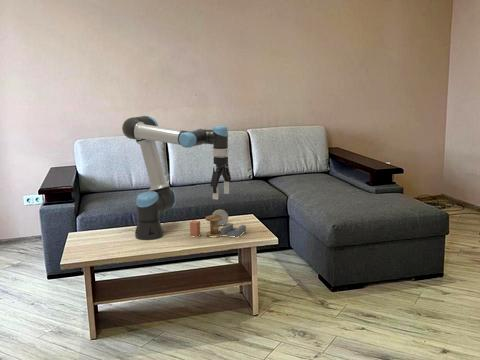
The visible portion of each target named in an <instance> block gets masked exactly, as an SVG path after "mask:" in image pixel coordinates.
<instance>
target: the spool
mask: <svg viewBox="0 0 480 360" xmlns="http://www.w3.org/2000/svg"><path fill="white" fill-rule="evenodd" d="M220 220H222V216H220V215H212V214H211V215H207V216H205V221H208V222H209V225H210V228H209V229H210V230H209V231H207V232H206V233H205V235H207V236H220V235H222V234H221V230H219V226H218V221H220ZM207 236H206V237H207Z"/></svg>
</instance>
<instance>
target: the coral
mask: <svg viewBox="0 0 480 360" xmlns="http://www.w3.org/2000/svg"><path fill="white" fill-rule="evenodd" d="M211 215H220V216H222V220H220V221H218V225H222V224H224V225H226V224H227V222H228V221H229V215H228V212H227V211H226V210H224V209H217V210H214V211H213V212H212V214H211ZM222 226H223V225H222Z"/></svg>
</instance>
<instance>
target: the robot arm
mask: <svg viewBox="0 0 480 360" xmlns="http://www.w3.org/2000/svg"><path fill="white" fill-rule="evenodd" d="M121 128H122V134H123V135H124V136H125V137H126V138H128V139H131V140H135V142H136V143H137V144H139V146H140V149H141V153H142V158H143V161H144V165H145V169H146V173H147V176H148V180H149V184H150V188H149V190H148V191H144V192H140V193H139V194H137V196H136V203H135V204H136V205H135V206H136V217H137V224H136V227H135V232H134V233H135V236H134V237H135V239H139V240H143V241H144V240H146V241H147V240H157V239H160V238H162V237H163V236H164V230H163V226H162V224H161V221H160V214H161V213H164V212H167V211H169V210H171V209H172V208H174V206H175V205H176V204H177V201H178V200H177V199H178V196H177V193H176V192H175V191H174V190H173V189H172V188H171V186H170V184H169V183H167V181H166V177H165V173H164V170H163V167H162V162H161V158H160V154H159V151H158V147H157V146H158V145H157V143H156V142H161V143H166V144H173V145H179V146H181V147H182V148H189V149H190V148H193V147H196V146H202V145H212V146H213V147H212V148H213V151H212V152H213V153H212V155H213V165H216V166H213V167H212V174H211V180H210V187H211V188H212V200H219V186H218V185H219V182H220V178H221V176H222V179H223V180H224V181H223V194H225V195H226V194H227V195H229V194H230V182H231V181H232V176H231V172H230V168H229V128H228V126H225V125H221V126H220V125H215V126H213V127H212V129H206V128H205V129H204V128H203V129H202V128H195V129H194V130H192V131H189V130H183V129H177V128H176V129H175V128H171V127H170V128H169V127H166V126H165V127H163V126H159V124H158V122H157V120H156V119H155V118H154V117H152V116H149V115H142V116H132V117H129V118H127V119H125V121H124V122H123V124H122V127H121Z"/></svg>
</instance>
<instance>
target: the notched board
mask: <svg viewBox="0 0 480 360" xmlns="http://www.w3.org/2000/svg"><path fill="white" fill-rule="evenodd" d="M220 231H221V234H222V235H227V236H235V237H238V236H240V235H241V234H242V233H243V232H245V231H246V232H247V225H246V224H241V225H240V226H238V227H235V226H234V224H233V223H227V225H226V224H225V226H223V227H222V228H220ZM240 237H241V236H240Z"/></svg>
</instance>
